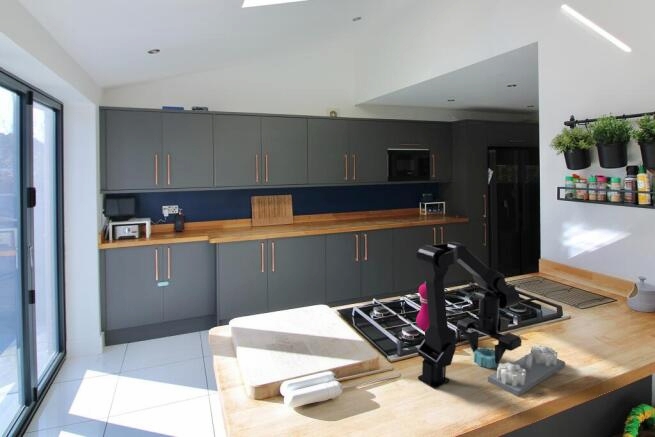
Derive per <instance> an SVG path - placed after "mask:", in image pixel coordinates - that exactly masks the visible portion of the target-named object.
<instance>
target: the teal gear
mask: <svg viewBox="0 0 655 437" xmlns="http://www.w3.org/2000/svg"><path fill="white" fill-rule="evenodd" d="M473 362H474V363H476V364H477V366H479V367H482V368H483V367H484V368H486V369H491V368H495V369H497V367H498V366H499V364H496V362H495V349H492V348H491V349H490V348H486V347H482V348H481V347H480V348H479V347H478V348H477V349H475V352H473Z"/></svg>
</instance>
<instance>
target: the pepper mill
mask: <svg viewBox="0 0 655 437" xmlns="http://www.w3.org/2000/svg"><path fill="white" fill-rule="evenodd" d="M418 294H419V301H420V309H419V312H418V313H417V316H416V320H415V322H416V325H417V327H419V328H421V329H422V330H424V331H426V330H427V328H428V326H429V315H428V304H427V294H426V283H425V282H424V283H422V284H421V285H420V286H419V288H418Z"/></svg>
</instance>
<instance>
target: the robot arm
mask: <svg viewBox="0 0 655 437" xmlns="http://www.w3.org/2000/svg"><path fill="white" fill-rule="evenodd" d="M415 258H416V262H417V266H418V269H419V271H420V273H421V274H422V275H423V277H424V280H425V281H424V284H425V283H426V294H427V304H428V315H429V326H428V328H427V330H426V331H425V336H424V339H423V341H422V342H421V343H420V345H419V346H418V347H417V349H416V352H417V356H419V357H421V358H422V359H423V360H422V367H421V368H422V369H421V370H422V371H421V375H419V376H417V379H418V380H419V381H421V382H422V383H425V384H426V385H427V386H429V387H432V388H433V389H437V388H439V387H441V386H443V385H446V384H447V383H448V382H449V383H450V378H448V377H447V376H446V375H447V374H446V373H447V371H446V370H447V367H449V366H451V365H452V361H453V359H454V355H455V352H456V350H457V345H458V341H457V331H456V330H455V329H453V328H451V327H449V326H448V318H447V317H448V316H447V302H446V294H445V293H446V292H445V289H446V288H445V281H444V279H445V277H446V275H447V273H448V271H449V266H451V265H455V264H456V262H457V263H458V264H460V265H461V266H462V267H463V268H464V269H466V270H467V272H469V273H470V274H471V275H472V278H473V281H474V282H475V284H476V285H477V286H478V287H480V288H482V289H485V290H481V289H480V290H478V292H476V293H475V294H474V298H476V299H477V300H478V301H479V303H478V312H477V313H476V314H475V315H476V316H475V318H478V320H477V319H474V318H471V317H468V316H467V317H464V318H462V319H460V320H458V321H457V324H456V329H457V330H459V331H461V333H462V334H463V335H464V337H465V338H466V340H467V341H468V343H469V346H470V348H471V350H472V352H473V353H474V352H475V349H477V348H478V349H479V336H480V334H481V335H484V336H487V337H490V338H492V339H494V340H497V344H496V345H494V350H495V362H496V364H498V365H499V364H500V363H501V360H502V358H503V356H504V354H505V352H506V351H508V352H509V351H510V352H511V351H513V350H515V349H518V348H519V347H520V348H521V347H522V338H521V337H520V336H518V335H516V334H513V333H511V332H506V333H504V334H502V333H499V332H503V329H504V330H506V331H507V330H508V329H509V326H510V325H509V324H510V321H511V320H510V319H508V318H505V317H503V316H502V314H501V313H500V309H507V308H511V307H514V306H517V305H518V304H519V303H520V301H521V297H520V294H519V292H518V291H517V290H516V286H515V284H511V283H507V281H506V277H505V275H504V274H503V273H500V272H499V271H497V270H495V269H493V268H491V267H488V266H487V265H486V264H484V263H483V262H482V261H481V260H480V259H479V258H478V257H477V256H475V255H474V254H473V253H472V252H471V251H470V250H469V249H467V247H466V245H465V244H464V243H459V242H456V241H448V242H445V243H438V244H431V245H430V244H429V245H428V244H425V245H422V246H421V247H420V248H419V249H418V251H417V252H416V257H415Z"/></svg>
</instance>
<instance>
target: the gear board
mask: <svg viewBox="0 0 655 437" xmlns="http://www.w3.org/2000/svg"><path fill="white" fill-rule="evenodd" d="M565 366H566V361H564V360H562V359H559V358H558V351H557V350H555V349H553V348H552V347H551V346H545V345H542V344H538V345H532V346H531V349H530V352H529V353H528V354H526V355H524V356H522V357H521V358H519V359H518V360H515V361H513V362H512V363H511V362H505V363H501V362H499V364H498V367H496V369H497V370H496V372H493V373H492V374H490V375H488V377H487V382H489V383H490V384H491V385H494V386H496V387H497V388H499V389H503V390H504V391H506V392H508V393H510V394H512V395H514V396H516V397H520V396H521V395H522V394H525V393H526V392H528V390H530V389H532V388H533V387H535V386H537V385H538V384H539V383H542V382H543V381H545V380H546V379H547V378H549V377H551V376H552V375H554V374H555V373H557V372H558V371H560V370H561V369H563V368H565Z"/></svg>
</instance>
